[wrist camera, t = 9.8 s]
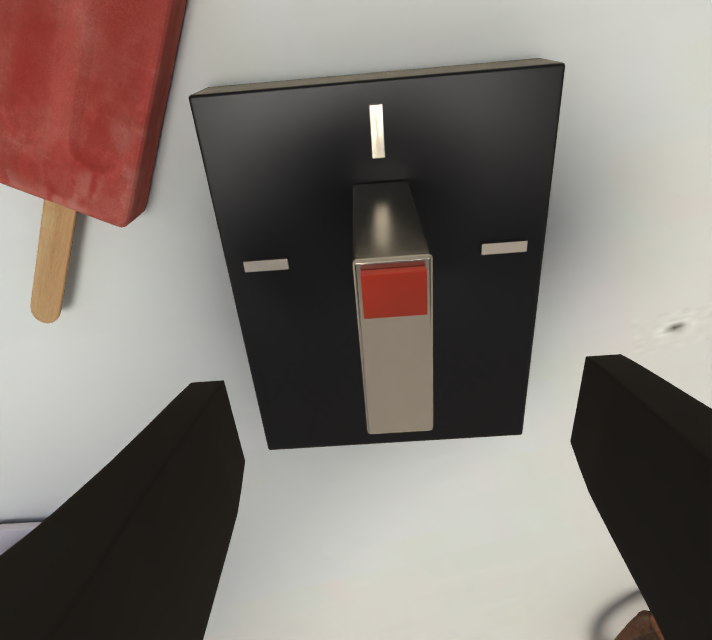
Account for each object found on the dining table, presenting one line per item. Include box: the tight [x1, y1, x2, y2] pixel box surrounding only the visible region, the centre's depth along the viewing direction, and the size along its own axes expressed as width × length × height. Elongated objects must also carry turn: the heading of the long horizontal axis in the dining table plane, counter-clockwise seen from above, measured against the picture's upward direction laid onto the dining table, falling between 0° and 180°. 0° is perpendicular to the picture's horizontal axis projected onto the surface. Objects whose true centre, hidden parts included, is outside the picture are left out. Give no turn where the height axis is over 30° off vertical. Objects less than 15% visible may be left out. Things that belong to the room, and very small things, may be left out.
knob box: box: [189, 58, 565, 450], centre depth 17 cm, size 13×10×2 cm
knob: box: [352, 181, 433, 434], centre depth 13 cm, size 5×2×6 cm, turn 4°
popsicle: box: [0, 0, 187, 323], centre depth 15 cm, size 4×2×15 cm
